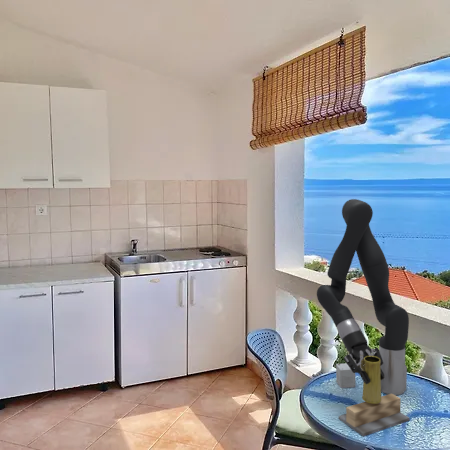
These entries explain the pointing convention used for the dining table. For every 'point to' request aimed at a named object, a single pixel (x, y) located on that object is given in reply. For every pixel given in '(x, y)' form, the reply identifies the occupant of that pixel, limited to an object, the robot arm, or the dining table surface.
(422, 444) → the dining table surface
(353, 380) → the skincare box
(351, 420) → the ridge
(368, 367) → the vase
